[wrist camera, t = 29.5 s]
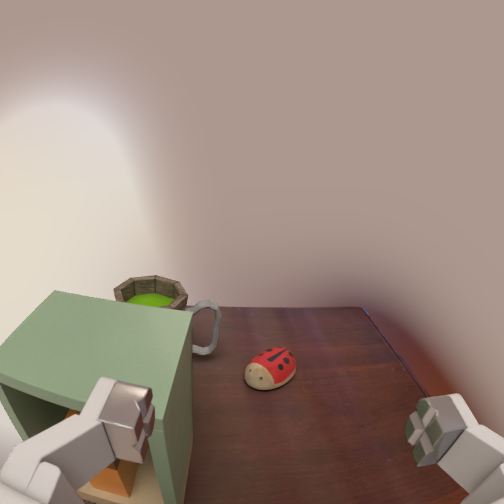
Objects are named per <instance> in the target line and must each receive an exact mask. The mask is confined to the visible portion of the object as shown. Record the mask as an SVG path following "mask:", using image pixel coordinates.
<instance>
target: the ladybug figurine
mask: <svg viewBox="0 0 504 504" xmlns="http://www.w3.org/2000/svg"><path fill="white" fill-rule="evenodd" d="M295 371H296V361H295V358H294V356H293V354H292V353H291V352H290V351H289V350H288V349H285V348H281V347H277V348H272V349H268V350H266V351H264V352H262V353H260V354H258V355H257V356H256V357H254V358H253V359H252V360H251V361H250V363H249V364H248V366H247V368H246V370H245V374H244V377H245V381H246V383H247V384H248V385H249V386H251V387H253V388H255V389H258V390H270V389H275V388H278V387H280V386H282V385H284V384H285V383H287V382H288V381H289V380H290V379H291V378H292V377H293V375H294V374H295Z"/></svg>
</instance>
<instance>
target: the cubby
mask: <svg viewBox="0 0 504 504" xmlns="http://www.w3.org/2000/svg"><path fill="white" fill-rule="evenodd" d="M192 356H193V312H189V311H181V310H173V309H166V308H159V307H151V306H144V305H138V304H131V303H124V302H118V301H112V300H106V299H100V298H93V297H88V296H82V295H77V294H71V293H66V292H60V291H56V290H55V291H53V292H52V293H51V294H50V295H49V296H48V297H47V298H46V299H45V300H44V301H43V302H42V303H41V304H40V305H39V306H38V307H37V308H36V309H35V310H34V311H33V312H32V313H31V314H30V315H29V316H28V317H27V318H26V319H25V320H24V321H23V322H22V323H21V325H19V327H18V328H17V329H16V330H15V331H14V332H13V333H12V334H11V335H10V336H9V337H8V339H6V340H5V342H4V343H3V344H2V345H1V346H0V401H1V403H2V405H3V407H4V409H5V410H6V412H7V414H8V416H9V418H10V419H11V421H12V423H13V425H14V426H15V428H16V429H17V431H18V433H19V435H20V436H21V438H22V440H23V441H25V440H27V439H29V438H31V437H33V436H35V435H37V434H39V433H41V432H43V431H44V430H46V429H48V428H50V427H52V426H54V425H56V424H58V423H59V422H61V421H63V420H64V419H65V417H66V415H67V413H68V411H69V410H70V409H73V410H77V411H80V412H81V411H82V409H83V407H84V406H85V404H86V402H87V400H88V398H89V396H90V394H91V392H92V390H93V388H94V387H95V385H96V383H97V381H98V380H99V379H100V378H101V377H102V376H103V377H106V378H110V379H114V380H119V381H123V382H128V383H132V384H136V385H141V386H145V387H150V388H152V393H153V398H152V401H151V403H152V404H153V405H154V407H155V423H154V429H153V432H152V435H151V436H150V437H148V438H147V442H148V450H147V453H146V457H145V460H144V464H140V463H139V465H138V468H137V472H136V476H135V479H134V483H133V487H132V491H131V495H130V498H128V497H124V496H120V495H116V494H113V493H109V492H106V491H102V490H99V489H96V488H93V486H92V485H91V483H90V482H87V483H86V484H85V485H84V486H82V487H81V488H80V489H78V490H77V491H76V493H77V494H78V495H79V497H80V498H82V499H85V500H88V501H91V502H94V503H97V504H184V498H185V491H186V485H187V478H188V471H189V465H190V458H191V452H192V446H193V393H192Z"/></svg>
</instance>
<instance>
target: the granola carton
mask: <svg viewBox="0 0 504 504" xmlns="http://www.w3.org/2000/svg"><path fill="white" fill-rule="evenodd" d="M80 413H81V412H80V411H77V410H73V409H70V410H69V411H68V413H67V415H66V417H65V419H67V418H69V417H70V416H72V415H74V414H77V415H80ZM65 419H64V420H65ZM115 459H116V460H115V461H113V462H112V463H111V464H110V465H109V466H107V467H106V468H105V469H104V470H102V471H101V472H100V473H99V474H97V475H96V476H95V477H94V478H92V479H91V480H90V481H89V482H90V483H91V485H92V486H93V488H96V489H99V490H102V491H106V492H109V493H113V494H116V495H120V496H124V497H128V498H130V495H131V491H132V487H133V483H134V479H135V476H136V472H137V468H138V465H139V463H135V462H131V461H126V460H122V459H117V458H115Z"/></svg>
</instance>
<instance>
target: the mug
mask: <svg viewBox="0 0 504 504" xmlns="http://www.w3.org/2000/svg"><path fill="white" fill-rule="evenodd" d="M114 294H115V298H116V301H118V302H124V303H131V304H138V305H144V306H151V307H159V308H166V309H173V310H181V311H189V312H193V315H195V314H196V313H198V312H199V311H200V310H201V309H205V308H210V309H213V310H215V315H216V318H215V322H214V325H213V332H212V342H211V344H210V346H208V347H204V348H203V347H200V346H197V345H193V353H196V354H200V355H207V354H211V353H212V352H213V351H214V349H215V348H216V346H217V342H218V336H219V326H220V322H221V317H222V315H221V312H220V309H219V306H218V304H217V303H215V302H212V301H210V300H205V301H200V302H198V303H197V304H196V305H195V306H193V307H191V308H186V304H187V298H188V294H187V293H186V291H185V290H184V289H183V287H182V285H181V284H180V282H178V281H175V280H171V279H167V278H164V277H160V276H157V275H155V276H145V277H135V278H129V279H128V280H127V281H125V282H123V283H122V284H120V285H119V286H117V287H116V288H114Z"/></svg>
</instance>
